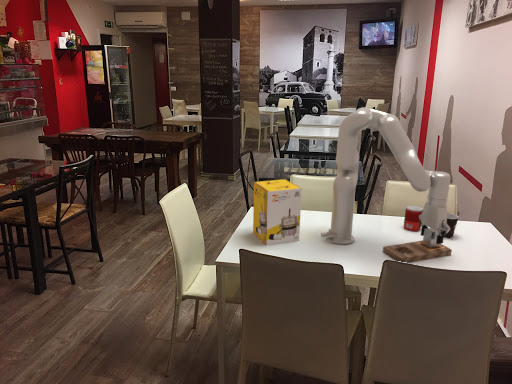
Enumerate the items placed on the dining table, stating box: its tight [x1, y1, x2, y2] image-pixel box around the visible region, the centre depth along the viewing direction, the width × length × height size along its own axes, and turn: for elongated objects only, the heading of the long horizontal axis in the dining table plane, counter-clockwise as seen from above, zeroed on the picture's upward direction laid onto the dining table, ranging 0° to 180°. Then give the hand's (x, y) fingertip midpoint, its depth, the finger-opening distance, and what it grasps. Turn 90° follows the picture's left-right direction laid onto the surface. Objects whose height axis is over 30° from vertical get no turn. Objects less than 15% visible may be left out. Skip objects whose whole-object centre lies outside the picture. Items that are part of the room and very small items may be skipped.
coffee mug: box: [440, 212, 459, 239], centre depth 198 cm, size 12×9×10 cm
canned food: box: [403, 205, 424, 232], centre depth 205 cm, size 8×8×11 cm
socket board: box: [382, 239, 453, 264], centre depth 178 cm, size 26×12×3 cm, turn 111°
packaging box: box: [252, 178, 303, 246], centre depth 191 cm, size 16×16×25 cm
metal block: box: [422, 227, 439, 249], centre depth 180 cm, size 4×4×10 cm
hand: (431, 239), depth 179 cm, fingers open, 8 cm apart
